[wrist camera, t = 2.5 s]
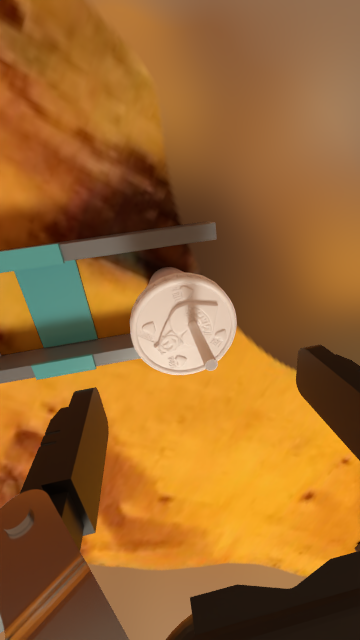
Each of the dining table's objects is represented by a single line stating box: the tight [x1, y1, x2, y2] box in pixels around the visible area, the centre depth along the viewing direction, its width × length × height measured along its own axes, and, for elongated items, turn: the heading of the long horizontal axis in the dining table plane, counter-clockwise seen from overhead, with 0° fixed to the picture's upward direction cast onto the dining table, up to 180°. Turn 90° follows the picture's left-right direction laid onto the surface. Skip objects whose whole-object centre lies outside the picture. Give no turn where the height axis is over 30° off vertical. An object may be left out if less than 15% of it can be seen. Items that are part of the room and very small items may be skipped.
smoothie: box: [130, 267, 237, 375], centre depth 17 cm, size 6×6×14 cm
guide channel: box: [0, 222, 216, 383], centre depth 20 cm, size 22×11×6 cm, turn 97°
